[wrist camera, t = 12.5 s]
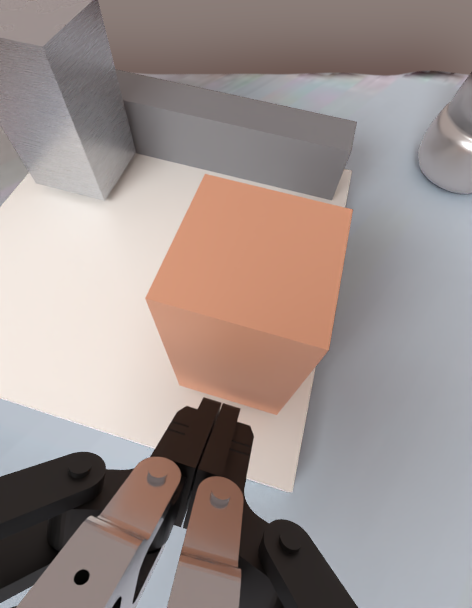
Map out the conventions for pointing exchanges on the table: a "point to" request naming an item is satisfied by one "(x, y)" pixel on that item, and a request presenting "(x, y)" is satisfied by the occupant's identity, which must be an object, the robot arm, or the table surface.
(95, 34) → the brushed metal pillar
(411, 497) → the table surface
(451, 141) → the plastic bottle
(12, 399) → the plate
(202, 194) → the tall salmon pillar
